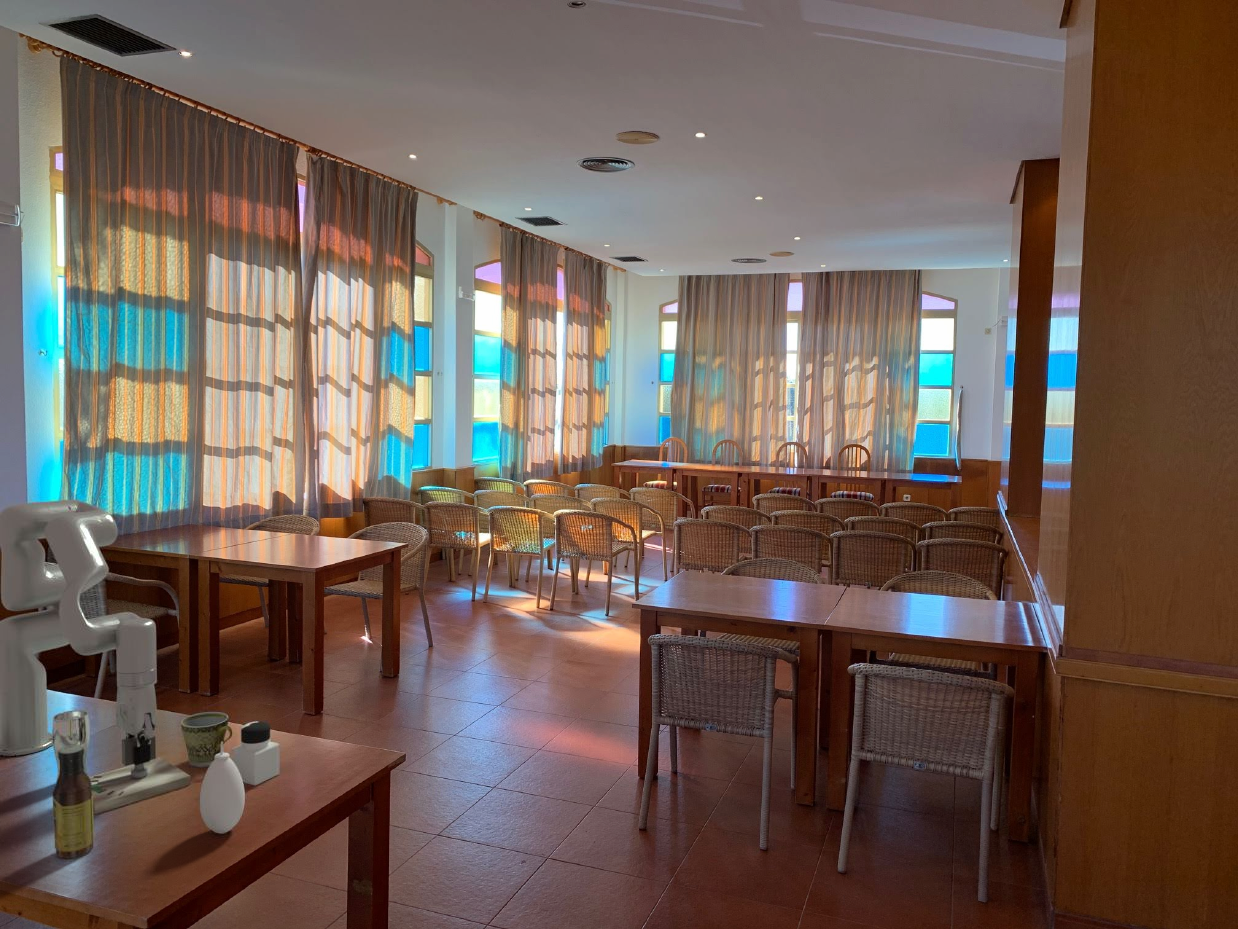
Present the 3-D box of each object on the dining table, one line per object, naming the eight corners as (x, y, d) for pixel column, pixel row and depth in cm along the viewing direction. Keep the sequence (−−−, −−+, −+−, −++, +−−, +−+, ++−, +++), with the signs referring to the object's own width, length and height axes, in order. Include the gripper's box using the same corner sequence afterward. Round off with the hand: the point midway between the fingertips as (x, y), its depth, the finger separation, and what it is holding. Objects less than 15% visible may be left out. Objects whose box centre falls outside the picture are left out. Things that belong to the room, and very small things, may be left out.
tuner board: (67, 792, 192) (67, 782, 192) (159, 765, 206) (159, 756, 206) (95, 814, 182) (95, 803, 182) (190, 784, 197) (190, 774, 197)
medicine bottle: (280, 774, 203) (279, 722, 202) (255, 786, 197) (254, 732, 196) (256, 768, 206) (256, 716, 205) (231, 780, 200) (230, 726, 199)
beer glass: (73, 791, 193) (71, 722, 192) (45, 787, 194) (43, 719, 193) (98, 778, 199) (97, 711, 198) (71, 774, 201) (69, 708, 200)
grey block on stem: (95, 783, 192) (94, 745, 191) (152, 769, 199) (151, 732, 198) (99, 788, 189) (98, 749, 189) (156, 773, 197) (155, 737, 196)
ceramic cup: (171, 765, 207) (170, 723, 206) (206, 750, 216) (205, 709, 215) (214, 775, 202) (214, 731, 201) (248, 759, 211) (248, 717, 210)
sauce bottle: (66, 844, 170) (63, 740, 169) (100, 843, 171) (98, 740, 169) (47, 862, 164) (44, 754, 162) (83, 861, 164) (80, 754, 163)
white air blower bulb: (227, 818, 182) (226, 730, 180) (253, 828, 178) (252, 738, 176) (191, 834, 175) (190, 743, 174) (217, 845, 171) (216, 752, 170)
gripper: (103, 673, 197) (104, 755, 198) (134, 689, 186) (136, 777, 187) (139, 665, 202) (140, 746, 204) (171, 681, 192) (173, 766, 193)
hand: (138, 760), depth 195 cm, fingers closed on grey block on stem, 2 cm apart
